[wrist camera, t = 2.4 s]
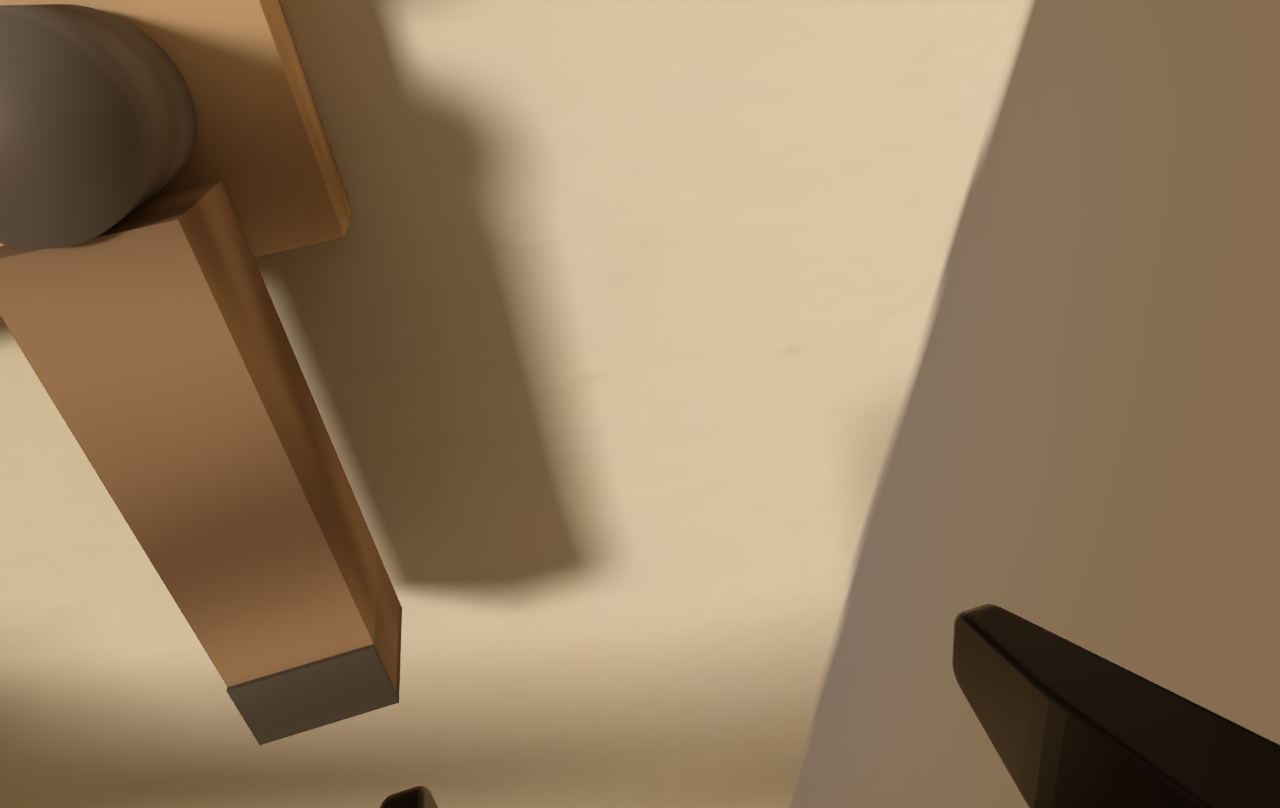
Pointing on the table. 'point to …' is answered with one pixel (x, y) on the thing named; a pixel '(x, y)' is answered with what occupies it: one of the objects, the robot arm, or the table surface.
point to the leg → (182, 373)
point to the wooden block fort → (246, 116)
